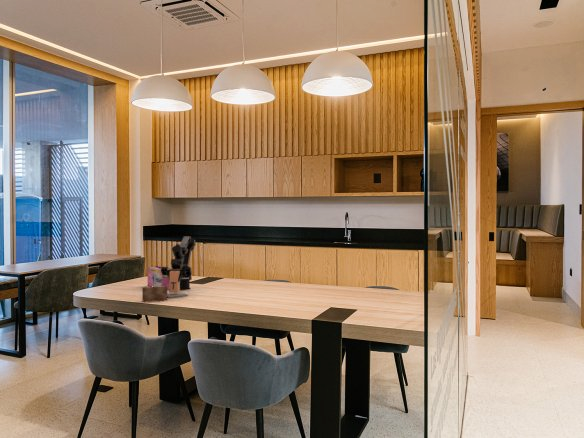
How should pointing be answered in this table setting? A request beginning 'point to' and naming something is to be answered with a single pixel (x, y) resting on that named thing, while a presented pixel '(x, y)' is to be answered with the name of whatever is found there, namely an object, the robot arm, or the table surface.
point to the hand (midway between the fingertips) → (174, 281)
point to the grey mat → (176, 295)
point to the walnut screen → (154, 293)
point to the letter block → (174, 282)
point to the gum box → (157, 277)
